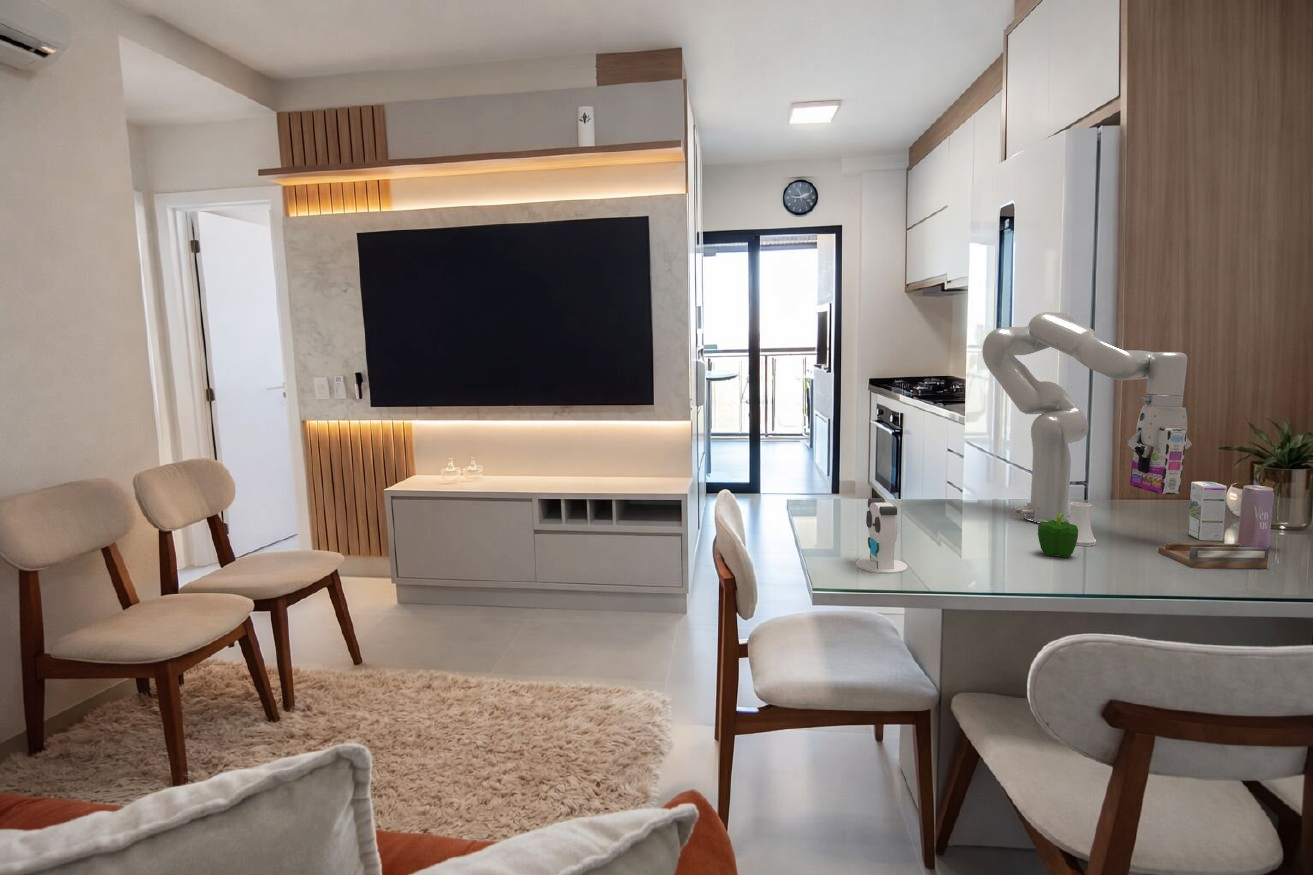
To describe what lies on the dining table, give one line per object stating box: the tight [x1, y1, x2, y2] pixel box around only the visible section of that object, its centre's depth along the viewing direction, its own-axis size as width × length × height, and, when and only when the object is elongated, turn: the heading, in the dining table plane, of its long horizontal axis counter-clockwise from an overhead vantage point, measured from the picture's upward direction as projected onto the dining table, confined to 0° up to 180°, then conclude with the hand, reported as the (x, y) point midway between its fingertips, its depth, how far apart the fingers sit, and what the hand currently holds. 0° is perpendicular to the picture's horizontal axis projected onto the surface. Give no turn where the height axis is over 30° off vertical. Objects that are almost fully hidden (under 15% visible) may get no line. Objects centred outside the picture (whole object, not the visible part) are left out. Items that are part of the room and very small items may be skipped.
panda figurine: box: [855, 497, 909, 575], centre depth 162 cm, size 12×11×15 cm
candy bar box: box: [1129, 424, 1188, 496], centre depth 178 cm, size 11×5×16 cm, turn 5°
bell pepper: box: [1037, 513, 1078, 558], centre depth 169 cm, size 8×8×10 cm
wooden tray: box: [1157, 542, 1270, 569], centre depth 163 cm, size 16×12×4 cm
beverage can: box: [1237, 484, 1275, 549], centre depth 173 cm, size 6×6×15 cm
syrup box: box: [1187, 481, 1228, 542], centre depth 182 cm, size 6×6×14 cm
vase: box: [1069, 501, 1097, 547], centre depth 180 cm, size 8×8×10 cm
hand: (1155, 471), depth 178 cm, fingers closed on candy bar box, 5 cm apart
